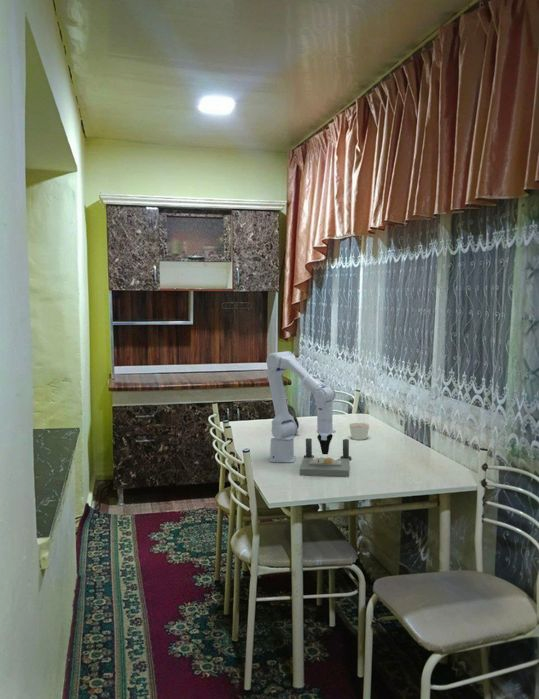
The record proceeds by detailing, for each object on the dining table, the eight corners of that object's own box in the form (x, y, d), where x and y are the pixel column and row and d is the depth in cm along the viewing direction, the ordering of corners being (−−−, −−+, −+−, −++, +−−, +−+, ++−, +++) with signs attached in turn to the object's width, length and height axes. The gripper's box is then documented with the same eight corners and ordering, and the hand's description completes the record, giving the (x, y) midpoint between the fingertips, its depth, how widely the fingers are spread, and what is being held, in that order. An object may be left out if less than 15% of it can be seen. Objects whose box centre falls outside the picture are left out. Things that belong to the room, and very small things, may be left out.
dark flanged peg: (340, 460, 233) (340, 441, 232) (340, 457, 237) (340, 438, 236) (351, 461, 232) (351, 441, 231) (351, 457, 237) (351, 438, 236)
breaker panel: (300, 475, 216) (299, 463, 215) (303, 464, 229) (303, 452, 229) (348, 476, 213) (348, 464, 212) (349, 465, 227) (349, 453, 226)
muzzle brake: (279, 437, 271) (278, 415, 270) (276, 423, 299) (276, 403, 298) (299, 436, 272) (299, 415, 270) (294, 422, 299) (294, 403, 298)
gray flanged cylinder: (303, 459, 235) (302, 440, 234) (304, 456, 239) (303, 437, 239) (313, 460, 234) (313, 440, 234) (314, 456, 239) (314, 437, 238)
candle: (367, 441, 261) (367, 427, 260) (347, 440, 264) (347, 426, 263) (370, 436, 269) (370, 423, 268) (351, 435, 272) (351, 422, 271)
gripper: (334, 423, 211) (335, 459, 213) (336, 414, 225) (336, 448, 227) (315, 423, 212) (315, 459, 214) (318, 414, 227) (318, 448, 228)
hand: (325, 453), depth 220 cm, fingers closed
